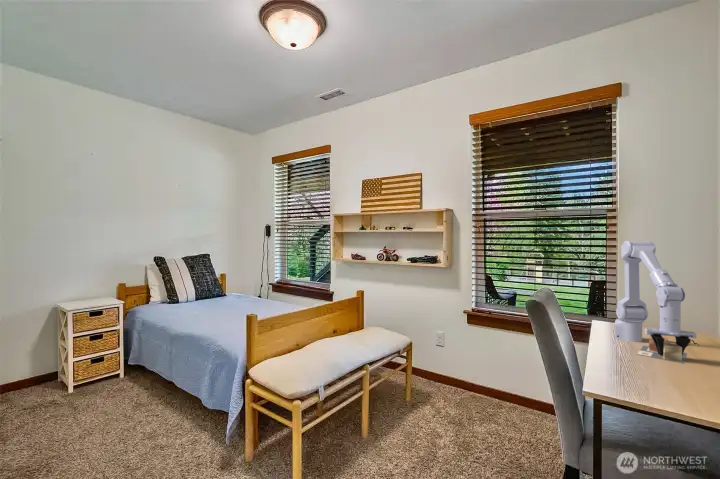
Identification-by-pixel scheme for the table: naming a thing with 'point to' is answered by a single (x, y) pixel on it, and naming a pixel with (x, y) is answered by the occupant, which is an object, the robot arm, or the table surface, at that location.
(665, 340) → the rust block
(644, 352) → the build board
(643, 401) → the table surface
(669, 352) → the maple block
